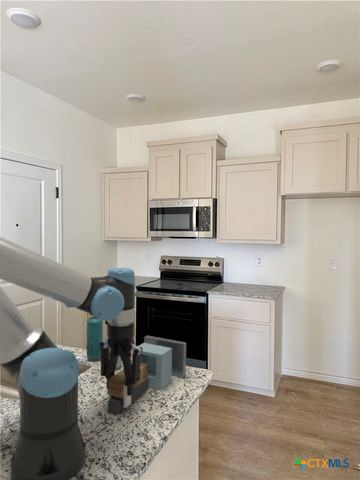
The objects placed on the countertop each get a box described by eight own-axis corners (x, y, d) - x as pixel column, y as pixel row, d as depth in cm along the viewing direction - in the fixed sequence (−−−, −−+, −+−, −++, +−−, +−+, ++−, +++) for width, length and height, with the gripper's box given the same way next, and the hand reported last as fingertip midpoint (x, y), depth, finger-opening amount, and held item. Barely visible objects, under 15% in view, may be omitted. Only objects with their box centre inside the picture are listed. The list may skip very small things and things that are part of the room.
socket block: (161, 390, 106) (161, 355, 106) (132, 382, 111) (132, 349, 111) (171, 381, 112) (171, 348, 112) (143, 374, 117) (144, 342, 117)
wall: (183, 378, 115) (183, 344, 114) (143, 369, 122) (144, 337, 122) (185, 376, 117) (186, 342, 116) (146, 367, 124) (147, 335, 123)
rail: (116, 415, 92) (116, 402, 92) (108, 412, 93) (108, 400, 93) (148, 389, 107) (148, 378, 107) (141, 387, 108) (141, 376, 108)
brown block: (121, 398, 92) (121, 382, 92) (107, 394, 94) (108, 378, 94) (147, 378, 105) (147, 364, 105) (135, 375, 107) (135, 361, 106)
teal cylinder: (105, 356, 134) (105, 307, 133) (99, 363, 127) (100, 311, 126) (89, 355, 134) (90, 306, 134) (83, 362, 128) (83, 310, 127)
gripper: (154, 323, 94) (152, 404, 95) (104, 315, 102) (103, 390, 103) (139, 330, 87) (138, 418, 88) (87, 321, 95) (86, 401, 96)
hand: (119, 403), depth 95 cm, fingers closed on brown block, 4 cm apart
